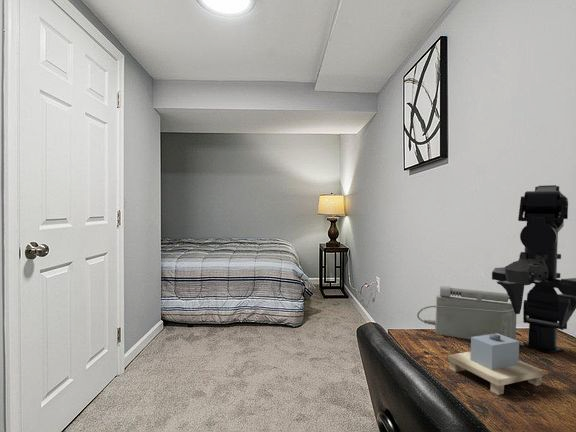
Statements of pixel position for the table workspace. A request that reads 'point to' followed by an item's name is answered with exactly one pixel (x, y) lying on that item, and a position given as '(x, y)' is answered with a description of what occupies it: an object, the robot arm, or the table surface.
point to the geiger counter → (472, 314)
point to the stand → (497, 372)
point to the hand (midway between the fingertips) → (538, 319)
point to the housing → (494, 351)
